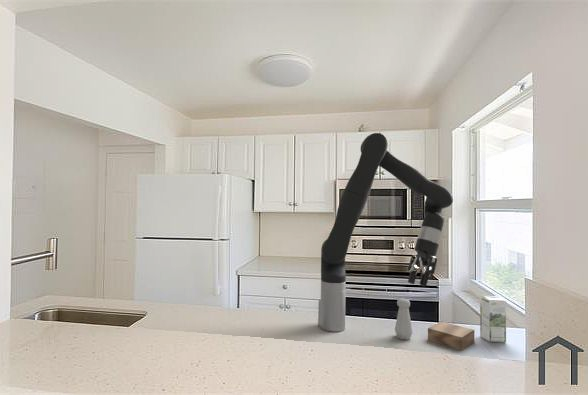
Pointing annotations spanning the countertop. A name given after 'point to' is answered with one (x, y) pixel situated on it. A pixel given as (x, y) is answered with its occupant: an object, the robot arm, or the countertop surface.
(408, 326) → the salt shaker
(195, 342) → the countertop surface
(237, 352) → the countertop surface
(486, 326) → the syrup box
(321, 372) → the countertop surface
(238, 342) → the countertop surface
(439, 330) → the wooden block
